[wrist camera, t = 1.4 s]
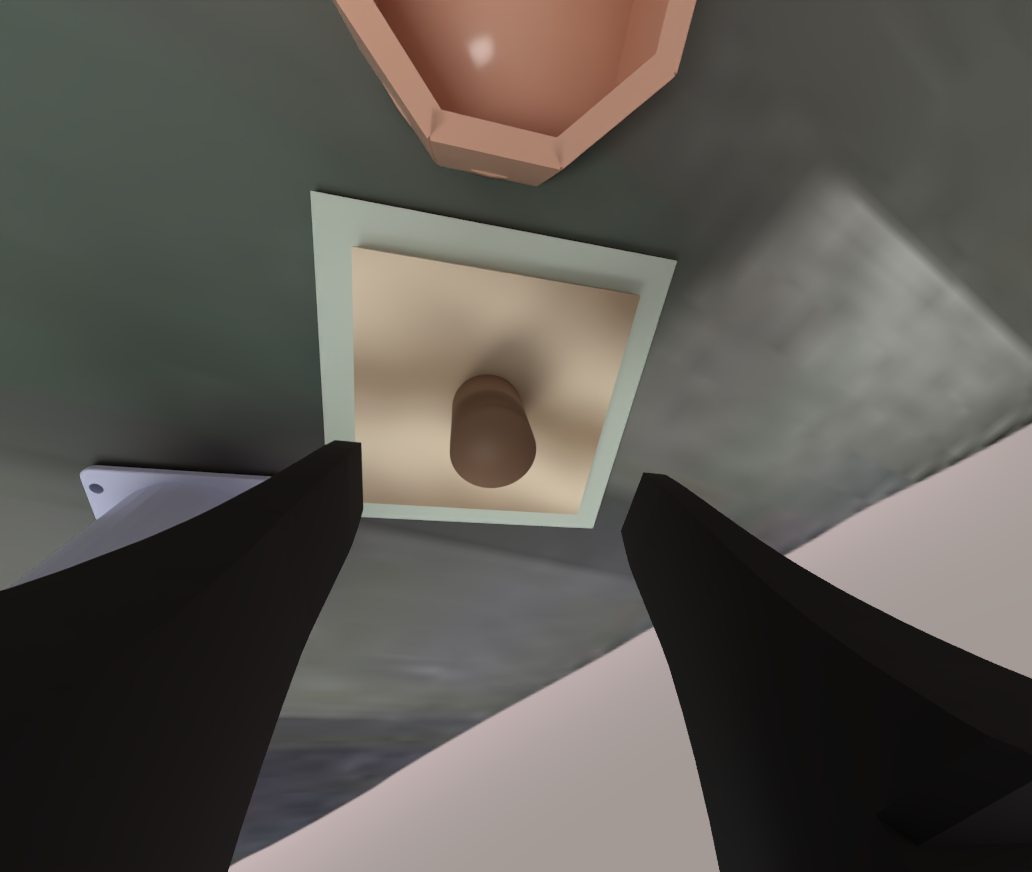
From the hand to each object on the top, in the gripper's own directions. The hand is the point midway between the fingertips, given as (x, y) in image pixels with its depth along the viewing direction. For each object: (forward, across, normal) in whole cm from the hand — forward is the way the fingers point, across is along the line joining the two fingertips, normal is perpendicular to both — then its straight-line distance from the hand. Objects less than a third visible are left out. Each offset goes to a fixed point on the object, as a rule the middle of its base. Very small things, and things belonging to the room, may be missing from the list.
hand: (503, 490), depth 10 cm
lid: (+8, 0, +1) cm, 8 cm away
